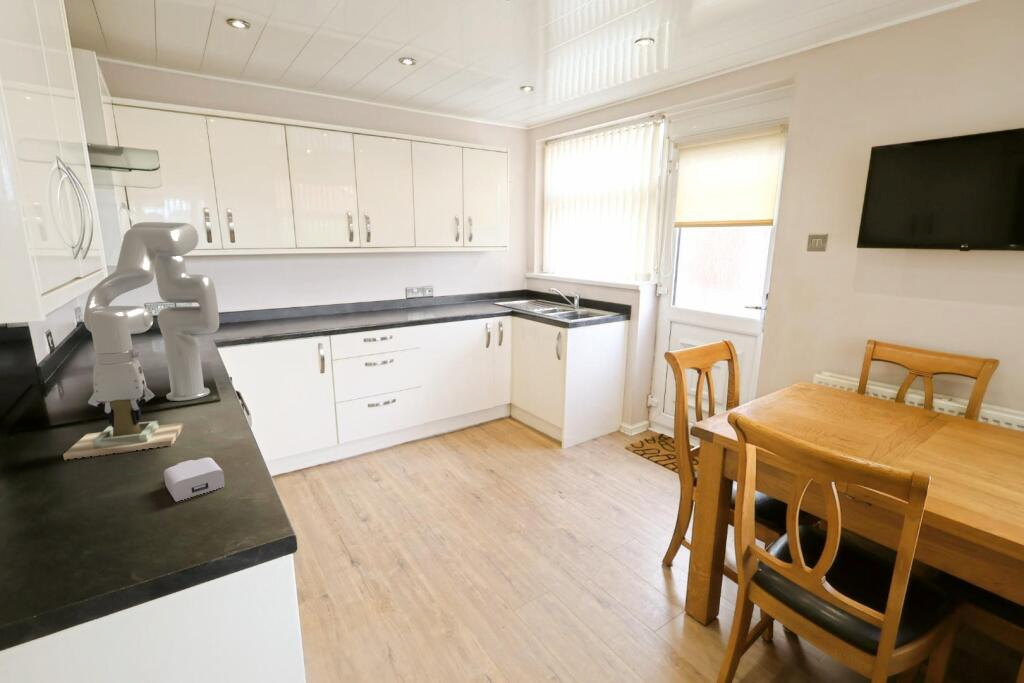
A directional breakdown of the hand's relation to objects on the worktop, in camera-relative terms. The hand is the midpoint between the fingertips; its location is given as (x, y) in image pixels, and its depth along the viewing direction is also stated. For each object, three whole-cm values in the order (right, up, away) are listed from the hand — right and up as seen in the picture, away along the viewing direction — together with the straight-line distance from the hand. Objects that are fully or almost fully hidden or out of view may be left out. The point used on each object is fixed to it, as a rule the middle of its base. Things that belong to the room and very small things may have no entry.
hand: (126, 423), depth 124 cm
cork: (0, -3, +1) cm, 4 cm away
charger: (+31, -10, -19) cm, 38 cm away
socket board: (0, -5, +1) cm, 5 cm away
